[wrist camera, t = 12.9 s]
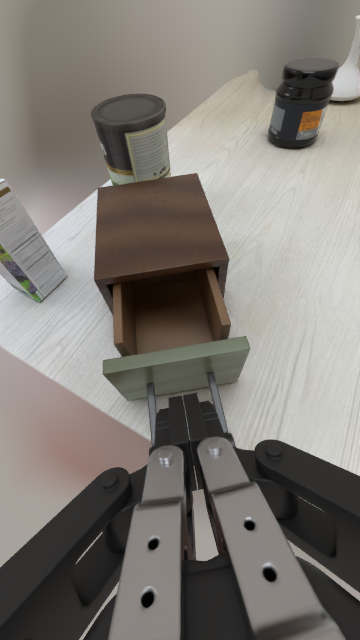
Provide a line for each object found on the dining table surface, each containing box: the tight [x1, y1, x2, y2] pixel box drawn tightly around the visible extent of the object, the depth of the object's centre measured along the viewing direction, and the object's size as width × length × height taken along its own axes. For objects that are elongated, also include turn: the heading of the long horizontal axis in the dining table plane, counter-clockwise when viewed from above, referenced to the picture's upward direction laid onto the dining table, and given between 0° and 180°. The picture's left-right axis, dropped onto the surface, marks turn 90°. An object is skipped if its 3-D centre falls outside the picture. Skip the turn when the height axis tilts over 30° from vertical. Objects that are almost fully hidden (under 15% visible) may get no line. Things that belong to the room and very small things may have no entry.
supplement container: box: [268, 56, 339, 148], centre depth 50 cm, size 10×10×12 cm
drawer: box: [103, 268, 250, 466], centre depth 24 cm, size 22×12×8 cm, turn 9°
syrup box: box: [0, 179, 67, 302], centre depth 31 cm, size 6×6×14 cm
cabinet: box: [94, 173, 229, 314], centre depth 31 cm, size 16×13×10 cm
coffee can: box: [91, 94, 171, 186], centre depth 40 cm, size 10×10×14 cm
